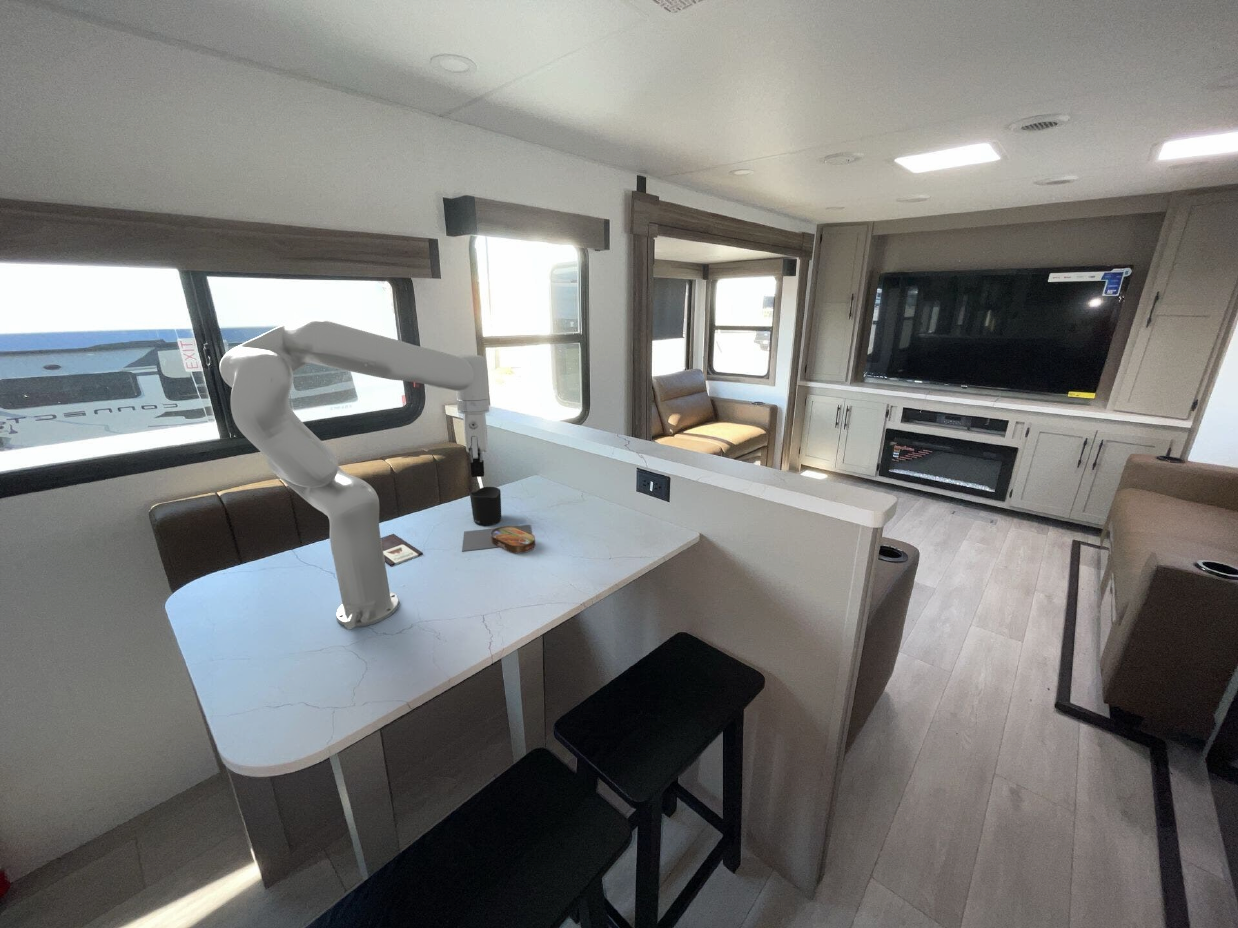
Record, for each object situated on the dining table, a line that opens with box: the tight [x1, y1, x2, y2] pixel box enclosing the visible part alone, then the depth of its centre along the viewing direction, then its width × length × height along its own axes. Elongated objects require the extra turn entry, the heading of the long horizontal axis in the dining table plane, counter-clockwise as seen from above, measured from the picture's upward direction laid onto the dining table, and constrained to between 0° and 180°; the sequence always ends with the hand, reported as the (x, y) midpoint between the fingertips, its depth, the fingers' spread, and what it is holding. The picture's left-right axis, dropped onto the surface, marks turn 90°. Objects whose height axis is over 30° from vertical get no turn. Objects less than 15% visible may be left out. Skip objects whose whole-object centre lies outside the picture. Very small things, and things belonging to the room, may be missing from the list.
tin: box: [490, 525, 536, 554], centre depth 139 cm, size 15×3×8 cm
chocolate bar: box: [381, 533, 424, 567], centre depth 136 cm, size 9×1×18 cm
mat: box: [461, 524, 533, 552], centre depth 144 cm, size 13×20×1 cm, turn 105°
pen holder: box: [469, 486, 502, 527], centre depth 154 cm, size 9×9×10 cm
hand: (477, 475), depth 125 cm, fingers closed
